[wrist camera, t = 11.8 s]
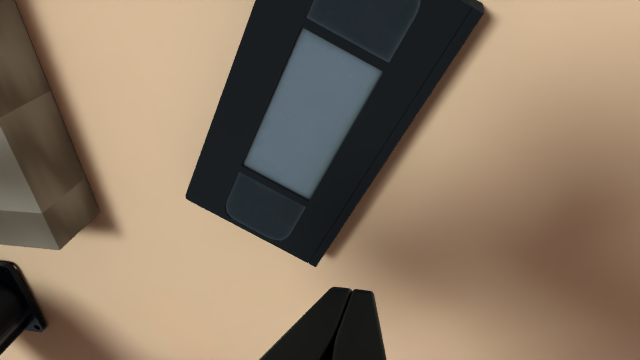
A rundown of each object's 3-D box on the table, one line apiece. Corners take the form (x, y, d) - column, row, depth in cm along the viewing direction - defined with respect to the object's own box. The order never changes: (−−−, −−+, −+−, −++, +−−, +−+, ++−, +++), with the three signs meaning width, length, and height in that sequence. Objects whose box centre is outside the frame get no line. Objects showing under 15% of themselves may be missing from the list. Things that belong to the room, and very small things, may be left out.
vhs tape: (201, 177, 26) (184, 198, 25) (305, -99, 18) (290, -96, 16) (324, 242, 26) (315, 267, 25) (482, 0, 18) (484, 13, 17)
